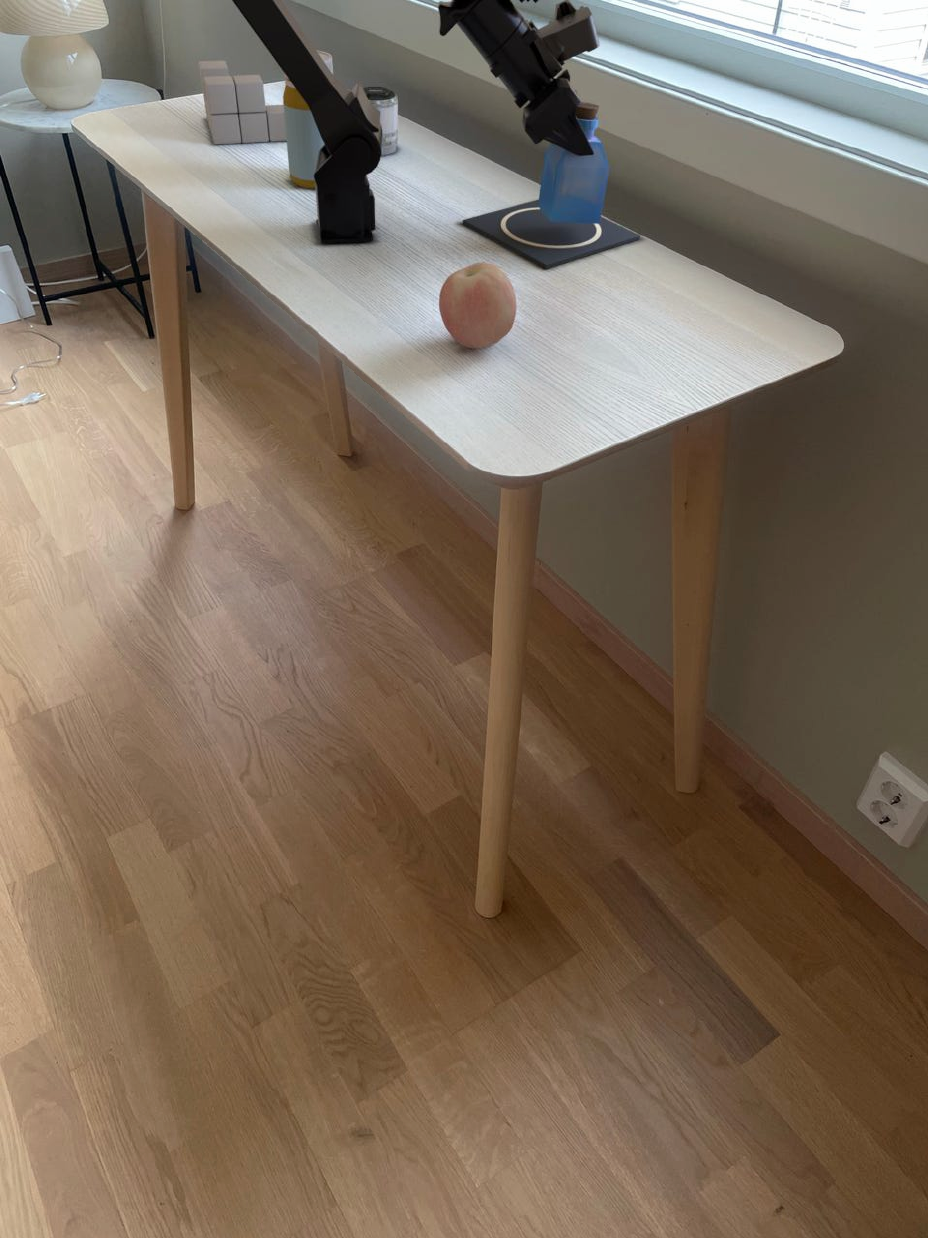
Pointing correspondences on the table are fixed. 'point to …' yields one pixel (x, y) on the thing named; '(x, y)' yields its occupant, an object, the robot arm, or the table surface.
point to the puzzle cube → (239, 107)
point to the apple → (478, 305)
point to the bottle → (302, 133)
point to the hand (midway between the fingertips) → (588, 149)
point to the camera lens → (385, 115)
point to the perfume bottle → (575, 177)
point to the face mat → (548, 234)
